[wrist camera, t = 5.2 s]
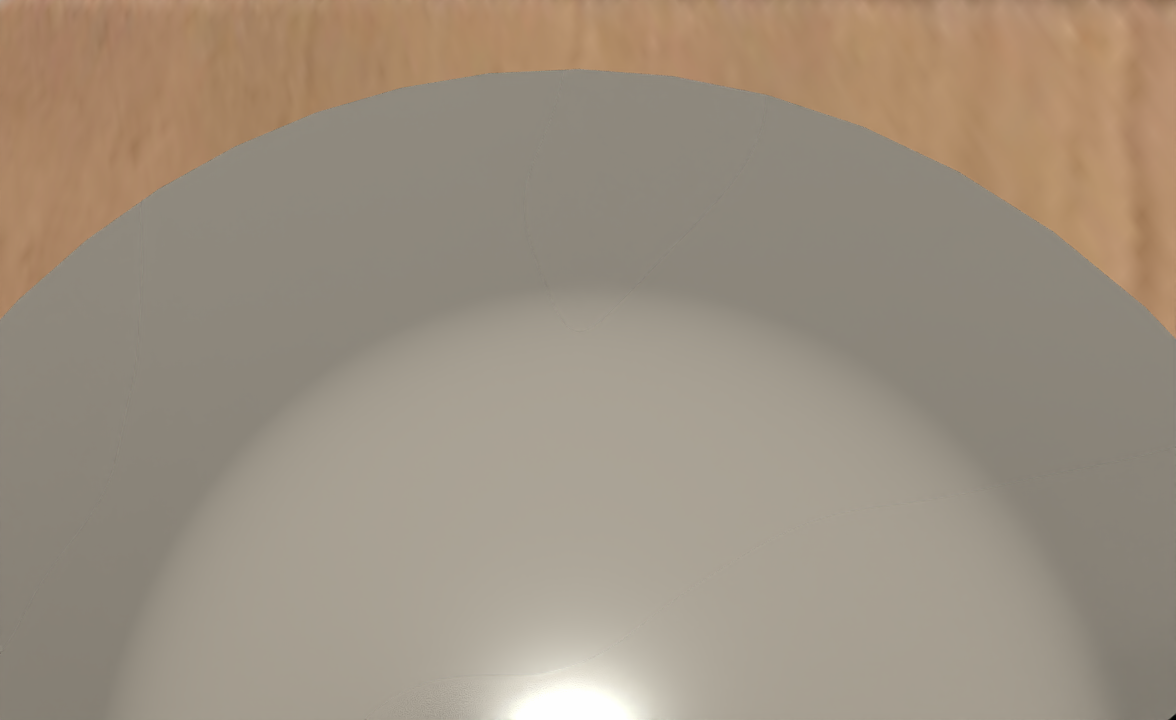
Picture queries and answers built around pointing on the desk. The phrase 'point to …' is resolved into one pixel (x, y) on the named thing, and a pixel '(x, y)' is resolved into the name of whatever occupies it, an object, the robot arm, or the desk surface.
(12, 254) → the desk surface
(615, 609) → the silver tall cylinder
